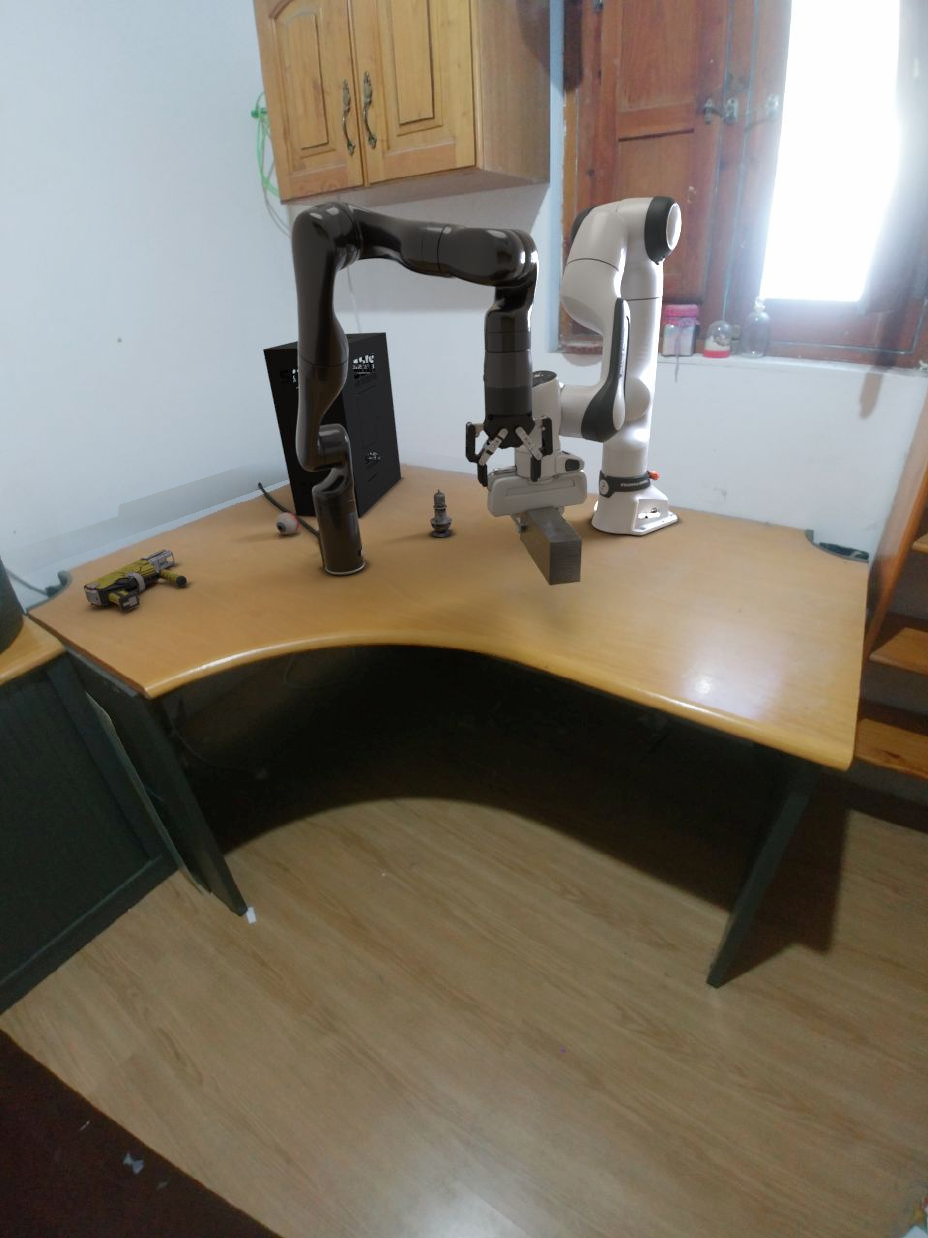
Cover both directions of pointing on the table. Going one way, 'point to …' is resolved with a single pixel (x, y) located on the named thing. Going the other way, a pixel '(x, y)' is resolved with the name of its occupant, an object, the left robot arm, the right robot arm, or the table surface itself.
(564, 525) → the bar
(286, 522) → the eyeball
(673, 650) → the table surface
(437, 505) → the salt shaker
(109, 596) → the toy gun
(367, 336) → the cardboard box
